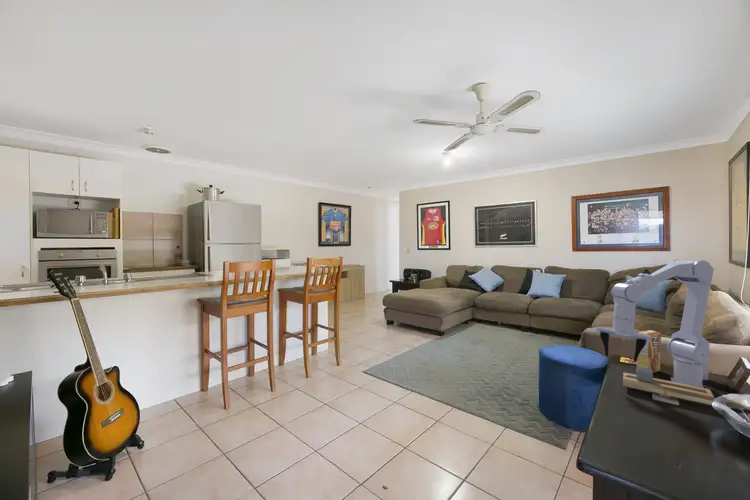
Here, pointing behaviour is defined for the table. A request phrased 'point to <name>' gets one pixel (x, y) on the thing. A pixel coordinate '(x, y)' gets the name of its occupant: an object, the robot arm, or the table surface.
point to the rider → (644, 374)
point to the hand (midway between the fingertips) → (620, 358)
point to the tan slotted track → (669, 390)
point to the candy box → (650, 352)
